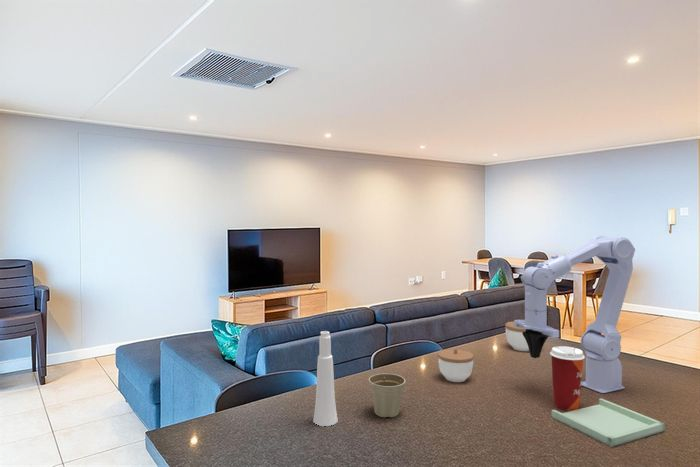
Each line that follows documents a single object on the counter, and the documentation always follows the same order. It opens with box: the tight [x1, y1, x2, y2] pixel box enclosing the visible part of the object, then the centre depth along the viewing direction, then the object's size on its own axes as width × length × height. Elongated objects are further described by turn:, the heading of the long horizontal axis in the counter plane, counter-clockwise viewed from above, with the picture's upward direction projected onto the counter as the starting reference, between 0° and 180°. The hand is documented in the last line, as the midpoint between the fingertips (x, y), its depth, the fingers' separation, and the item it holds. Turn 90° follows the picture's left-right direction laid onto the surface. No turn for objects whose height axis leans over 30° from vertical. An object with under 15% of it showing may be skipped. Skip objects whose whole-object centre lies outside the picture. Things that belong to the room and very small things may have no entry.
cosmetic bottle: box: [312, 330, 339, 427], centre depth 110 cm, size 6×6×22 cm
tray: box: [551, 398, 666, 448], centre depth 108 cm, size 18×16×2 cm
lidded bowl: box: [504, 319, 530, 352], centre depth 171 cm, size 13×13×11 cm
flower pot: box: [368, 373, 406, 418], centre depth 115 cm, size 9×9×9 cm
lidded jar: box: [437, 348, 475, 383], centre depth 139 cm, size 11×11×9 cm
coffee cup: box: [549, 345, 586, 412], centre depth 118 cm, size 8×8×15 cm
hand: (535, 357), depth 128 cm, fingers closed
